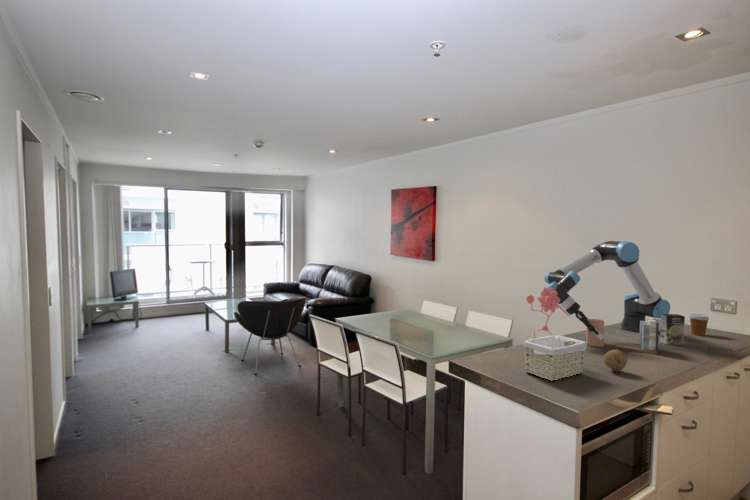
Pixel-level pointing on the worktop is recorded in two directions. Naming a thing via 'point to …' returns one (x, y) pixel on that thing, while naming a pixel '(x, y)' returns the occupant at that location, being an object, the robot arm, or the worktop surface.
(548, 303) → the figurine
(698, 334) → the disposable coffee cup
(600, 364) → the worktop surface
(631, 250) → the robot arm
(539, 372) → the storage basket
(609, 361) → the natural sponge
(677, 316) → the coffee box
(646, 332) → the book rack
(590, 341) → the terracotta book
